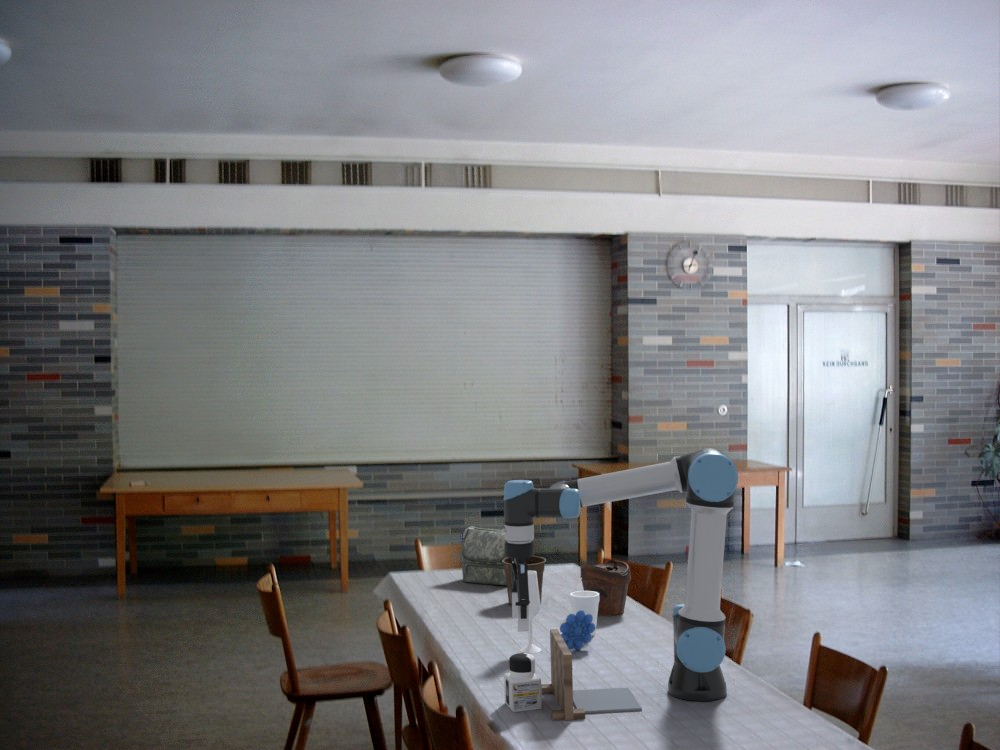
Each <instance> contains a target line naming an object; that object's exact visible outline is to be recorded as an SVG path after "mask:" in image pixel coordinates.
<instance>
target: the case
mask: <svg viewBox="0 0 1000 750" xmlns="http://www.w3.org/2000/svg"><path fill="white" fill-rule="evenodd" d="M579 569H580V576H579V577H580V578H581V584H582V589H583V591H594V592H598V593H599V604H598V614H597V616H601V617H604V616H605V617H608V616H609V617H611V616H617V615H621V614H624V612H625V606H626V600H627V595H628V589H629V583H630V582H631V580H632V575H631V569H630V566H629V564H628V563H626V562H624V561H621V560H614V559H611V560H608V561H606V562H602V563H599V564H596V565H591V564H590V565H589V564H585V565H582V566H581V567H580V568H579Z"/></svg>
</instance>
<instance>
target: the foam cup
mask: <svg viewBox="0 0 1000 750" xmlns="http://www.w3.org/2000/svg"><path fill="white" fill-rule="evenodd" d="M569 602H570V604H571V611H572V614H574V615H575V616H576V613H577V612H578V611H584V612H585V615H587V614H591V615H592V617H593V620H592V622H591V623H594V624H595V627H596V628H595V631H594V632H593V633H590V634H591V636H592V637H593V636H595V635H596V631H597V620H598V615H597V614H598V604H599V593H598V592H594V591H584V590H578V591H573V592H570V594H569Z"/></svg>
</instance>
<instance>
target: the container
mask: <svg viewBox="0 0 1000 750" xmlns="http://www.w3.org/2000/svg"><path fill="white" fill-rule="evenodd" d="M508 662H509V663H508V664H509V672H505V673H504V675H503V676H504V678H503V679H504V682H503V683H504V703H505V704H506V705H507V706H508V708H509V709H510V710H511V711H512V712H513V713H517V712H518V713H519V712H524V711H526V712H527V711H534V710H541V709H542V708H543V705H542V703H543V702H542V699H543V697H542V696H543V695H542V692H541V684H542V678H541V677H540V676H538V675H537V674H536V657H535V656H534V655H532V653H523V652H519V653H518V652H517V653H515V654H512V655H510V657H509V661H508Z"/></svg>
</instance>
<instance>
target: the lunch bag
mask: <svg viewBox="0 0 1000 750" xmlns="http://www.w3.org/2000/svg"><path fill="white" fill-rule="evenodd" d="M505 542H506V540H505V532H502V529H496V528H482V527H476V526H473V525H471V526H469V527H467V528H465V529H464V530H463V532H462V533H460V536H459V541H458V543H461V555H460V560H461V569H462V571H461V572H462V581H463V582H465V583H474V584H482V585H492V586H493V585H495V586H506V587H507V582H506V574H505V571H504V563H503V562H502V560H503V559H505V558H508V557H506V556H505Z"/></svg>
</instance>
